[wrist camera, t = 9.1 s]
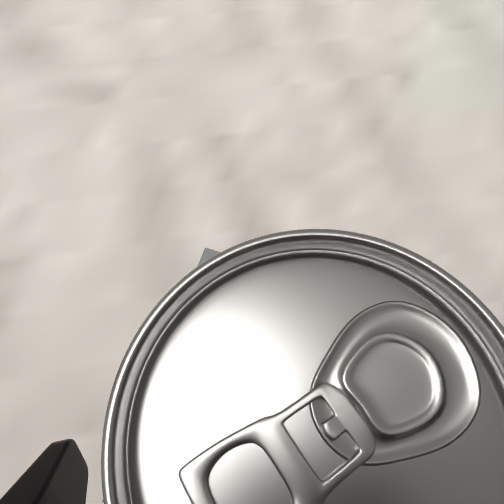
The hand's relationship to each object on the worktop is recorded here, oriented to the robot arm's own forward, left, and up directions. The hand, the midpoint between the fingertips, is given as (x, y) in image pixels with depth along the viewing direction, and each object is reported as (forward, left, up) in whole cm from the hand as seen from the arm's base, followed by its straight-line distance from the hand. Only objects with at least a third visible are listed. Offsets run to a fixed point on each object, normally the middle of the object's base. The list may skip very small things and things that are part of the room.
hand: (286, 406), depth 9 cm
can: (0, 0, -8) cm, 8 cm away
